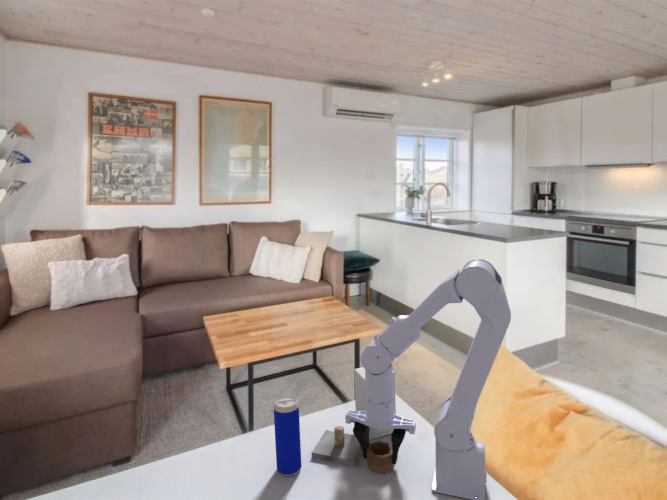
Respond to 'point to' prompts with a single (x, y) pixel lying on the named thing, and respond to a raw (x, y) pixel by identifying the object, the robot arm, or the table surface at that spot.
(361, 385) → the skincare box
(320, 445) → the dowel stand
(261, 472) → the table surface
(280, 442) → the beverage can
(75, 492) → the table surface
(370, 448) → the walnut ring
